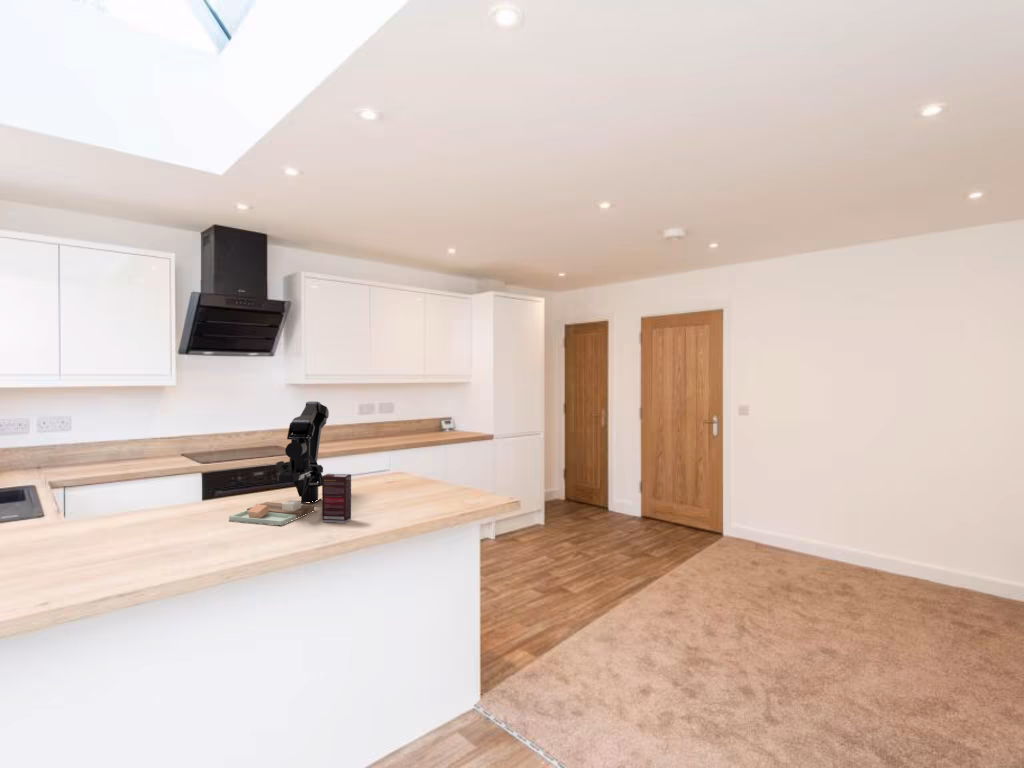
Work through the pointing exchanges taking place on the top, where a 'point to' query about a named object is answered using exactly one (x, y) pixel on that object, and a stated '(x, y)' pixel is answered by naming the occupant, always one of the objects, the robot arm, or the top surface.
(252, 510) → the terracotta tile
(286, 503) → the cream tile
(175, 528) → the top surface
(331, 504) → the supplement box
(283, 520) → the green tray
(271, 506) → the walnut board
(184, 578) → the top surface
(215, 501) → the top surface
